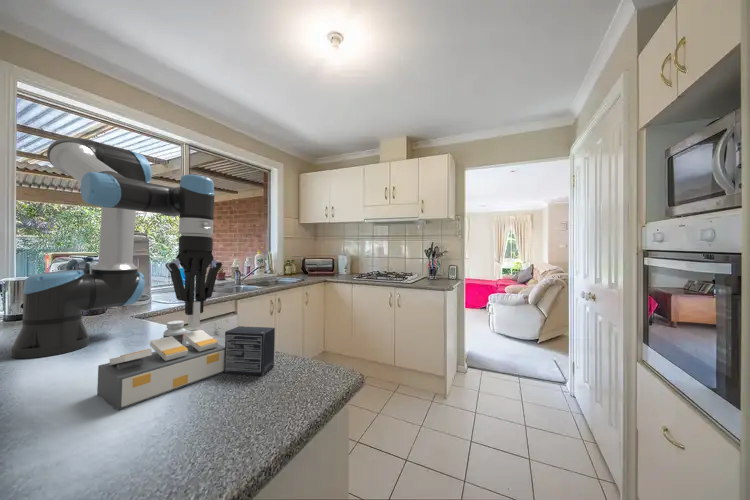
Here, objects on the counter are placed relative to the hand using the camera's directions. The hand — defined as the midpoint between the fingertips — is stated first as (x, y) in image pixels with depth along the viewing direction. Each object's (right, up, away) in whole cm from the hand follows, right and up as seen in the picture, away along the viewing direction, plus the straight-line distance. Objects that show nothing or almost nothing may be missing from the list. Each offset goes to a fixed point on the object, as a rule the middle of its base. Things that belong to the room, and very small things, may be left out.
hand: (193, 326), depth 72 cm
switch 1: (-4, -3, -14) cm, 15 cm away
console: (-1, -11, -8) cm, 13 cm away
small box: (+15, -11, 0) cm, 18 cm away
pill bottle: (-11, -11, +8) cm, 17 cm away
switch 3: (+3, -3, -2) cm, 4 cm away
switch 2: (-1, -3, -8) cm, 8 cm away
